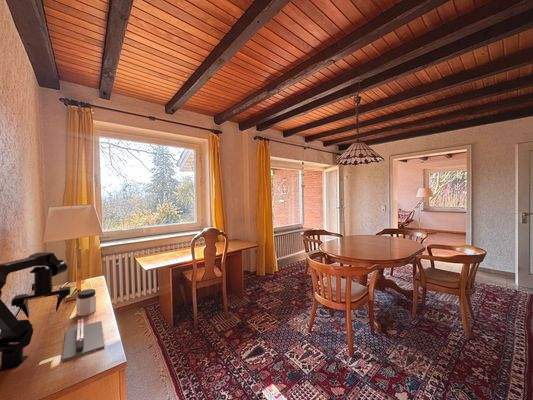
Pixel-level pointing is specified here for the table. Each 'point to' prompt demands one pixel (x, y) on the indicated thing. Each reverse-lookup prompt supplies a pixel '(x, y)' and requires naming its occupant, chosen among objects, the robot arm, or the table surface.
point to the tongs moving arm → (81, 328)
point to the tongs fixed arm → (79, 340)
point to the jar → (86, 302)
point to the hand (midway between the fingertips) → (42, 314)
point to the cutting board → (91, 340)
